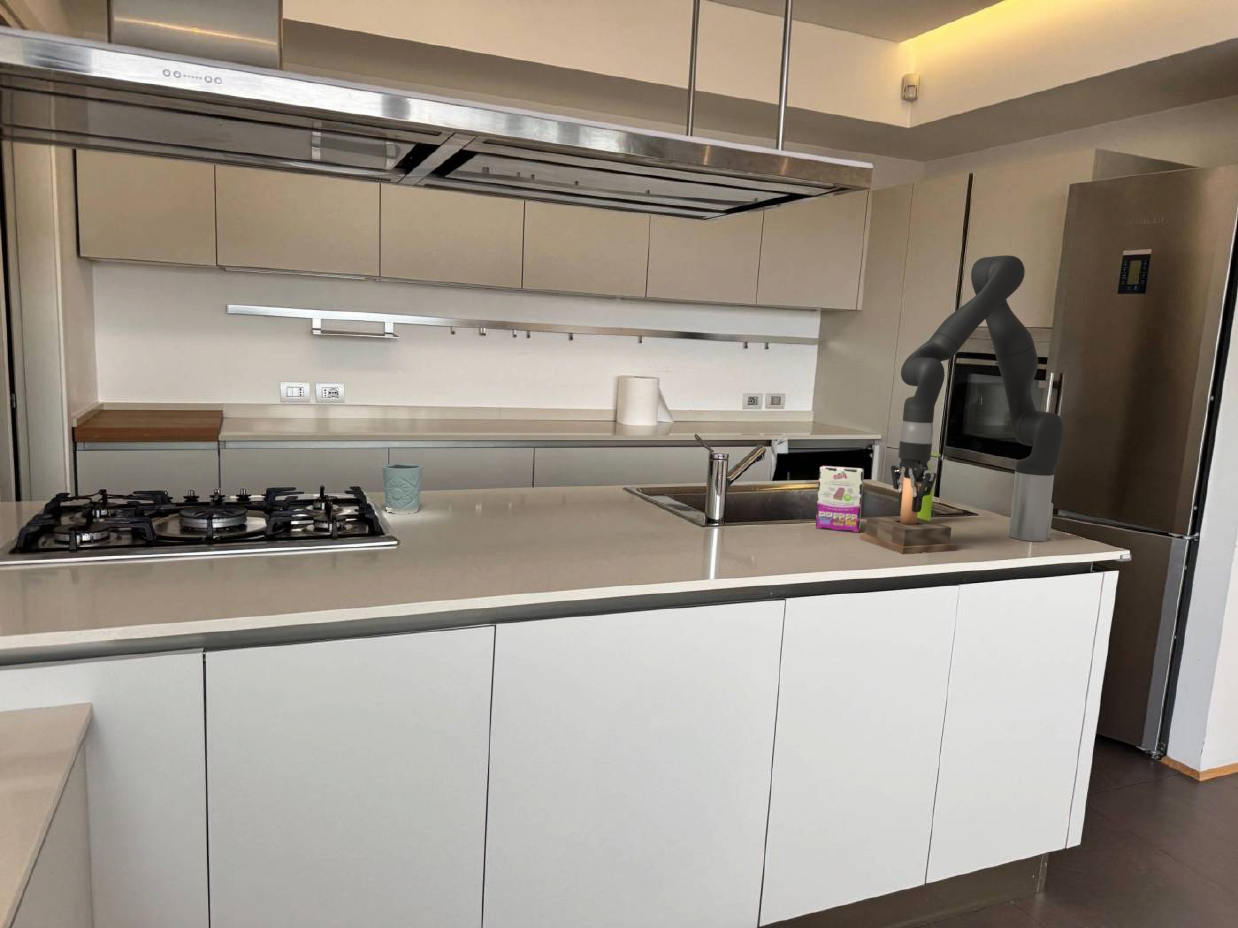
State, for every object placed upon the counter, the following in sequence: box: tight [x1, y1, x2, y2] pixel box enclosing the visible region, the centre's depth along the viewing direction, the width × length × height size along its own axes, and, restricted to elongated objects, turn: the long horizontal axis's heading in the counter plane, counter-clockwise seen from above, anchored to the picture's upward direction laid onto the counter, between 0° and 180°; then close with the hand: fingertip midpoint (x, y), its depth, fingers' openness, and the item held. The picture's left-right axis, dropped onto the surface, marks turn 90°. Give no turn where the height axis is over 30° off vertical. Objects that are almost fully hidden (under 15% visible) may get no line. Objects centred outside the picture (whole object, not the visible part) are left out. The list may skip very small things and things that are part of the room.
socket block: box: [859, 516, 957, 555], centre depth 217 cm, size 16×16×6 cm
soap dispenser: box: [917, 451, 941, 521], centre depth 244 cm, size 6×7×20 cm
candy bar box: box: [815, 465, 865, 533], centre depth 231 cm, size 11×5×16 cm, turn 71°
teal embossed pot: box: [382, 463, 423, 510], centre depth 230 cm, size 10×10×12 cm
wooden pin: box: [900, 478, 921, 525], centre depth 216 cm, size 4×4×12 cm
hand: (909, 509), depth 216 cm, fingers closed on wooden pin, 4 cm apart
